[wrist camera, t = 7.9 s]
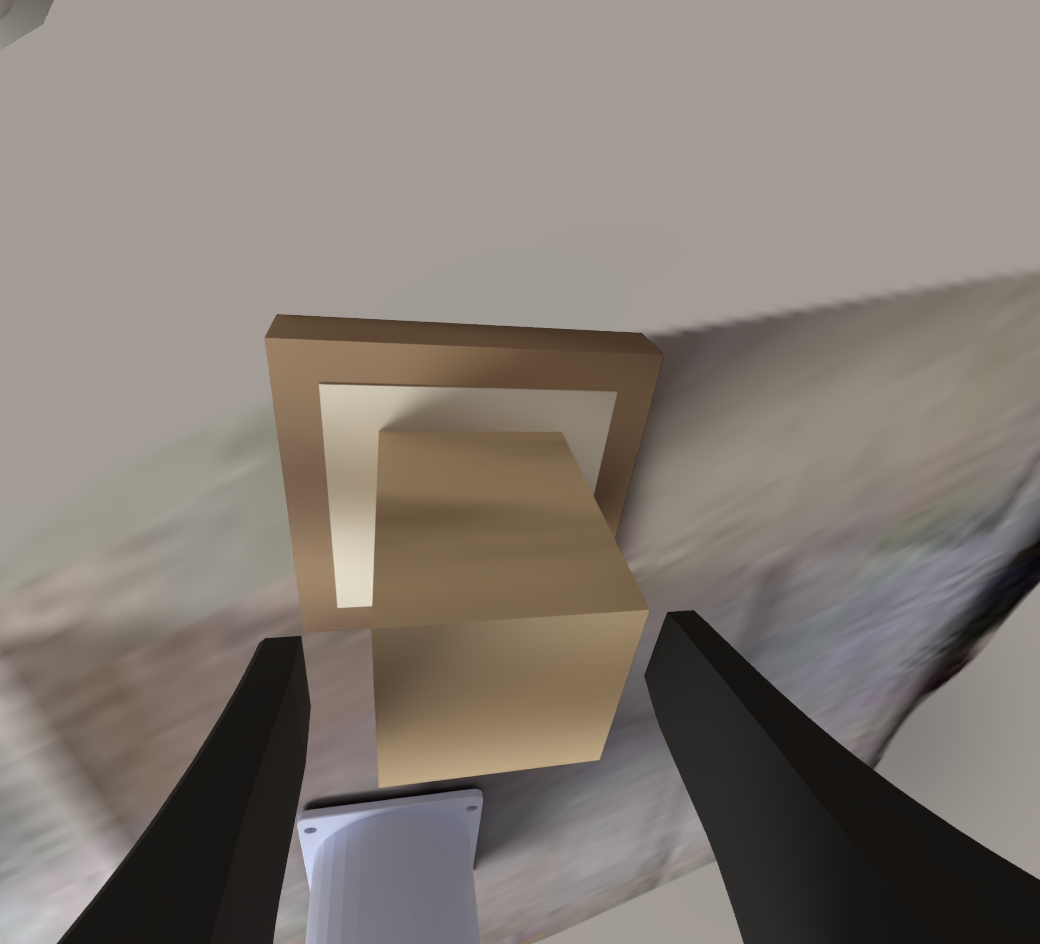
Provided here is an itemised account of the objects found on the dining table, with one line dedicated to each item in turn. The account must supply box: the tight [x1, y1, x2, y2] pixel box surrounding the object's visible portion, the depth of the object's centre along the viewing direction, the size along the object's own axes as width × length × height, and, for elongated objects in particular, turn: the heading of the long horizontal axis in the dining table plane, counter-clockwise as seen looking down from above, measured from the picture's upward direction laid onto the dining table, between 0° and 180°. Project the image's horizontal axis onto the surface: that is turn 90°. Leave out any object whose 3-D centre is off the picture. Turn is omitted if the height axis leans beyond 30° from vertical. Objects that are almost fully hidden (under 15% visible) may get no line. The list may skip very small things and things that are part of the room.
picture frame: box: [265, 314, 664, 633], centre depth 16 cm, size 9×9×2 cm
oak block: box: [371, 431, 649, 788], centre depth 13 cm, size 4×4×6 cm
